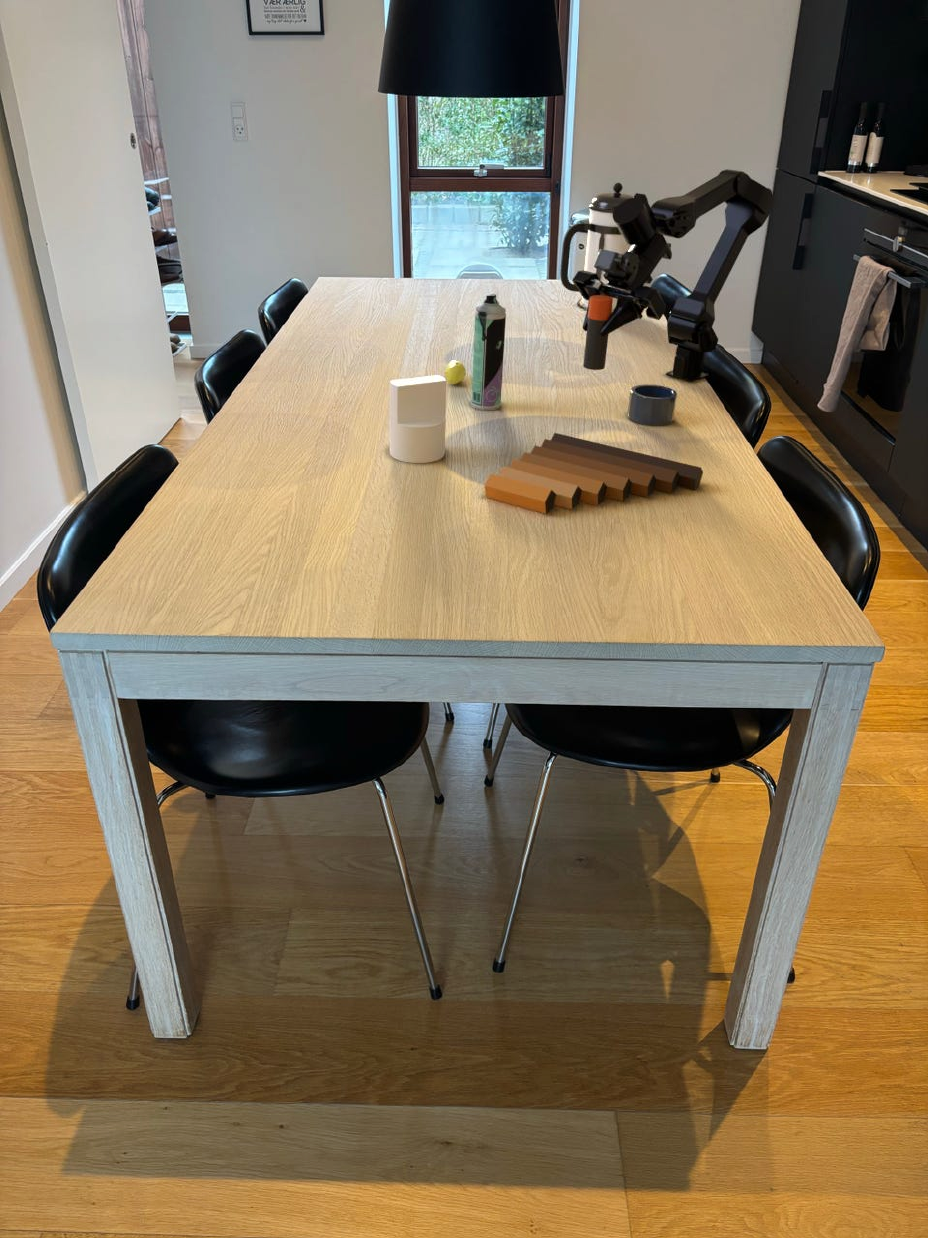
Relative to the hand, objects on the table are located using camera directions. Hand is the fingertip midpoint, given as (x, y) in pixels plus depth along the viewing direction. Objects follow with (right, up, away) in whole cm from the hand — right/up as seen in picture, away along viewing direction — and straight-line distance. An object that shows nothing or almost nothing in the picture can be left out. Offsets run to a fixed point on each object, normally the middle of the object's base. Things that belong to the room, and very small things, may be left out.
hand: (592, 332), depth 175 cm
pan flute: (-3, -33, -28) cm, 43 cm away
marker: (+1, -5, +4) cm, 7 cm away
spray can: (-19, -13, +4) cm, 23 cm away
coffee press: (+11, +26, +70) cm, 76 cm away
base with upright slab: (-31, -25, -17) cm, 43 cm away
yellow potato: (-25, -5, +16) cm, 30 cm away
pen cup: (+11, -15, +2) cm, 19 cm away
